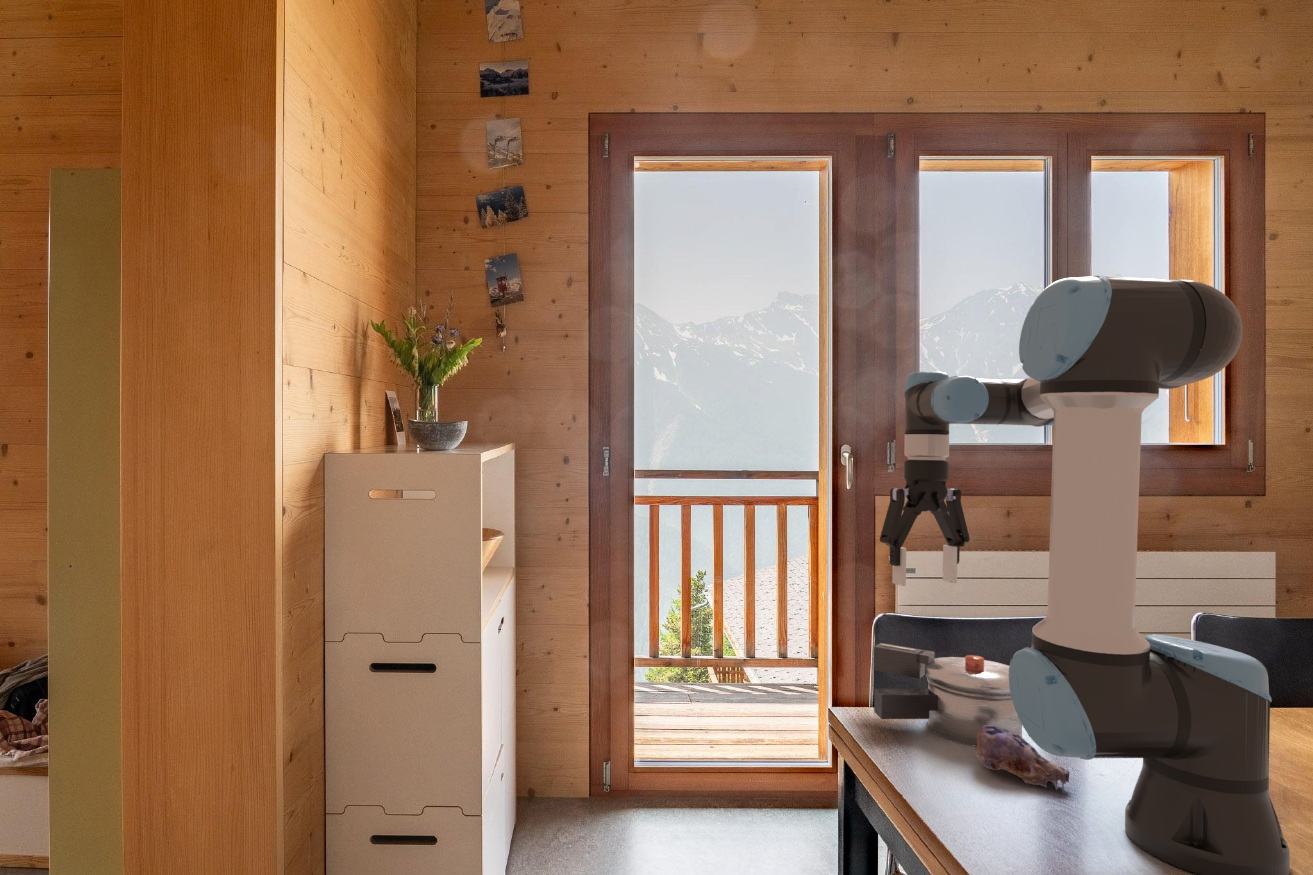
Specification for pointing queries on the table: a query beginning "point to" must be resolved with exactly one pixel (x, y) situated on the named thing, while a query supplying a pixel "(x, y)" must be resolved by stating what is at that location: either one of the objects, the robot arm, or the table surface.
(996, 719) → the pot
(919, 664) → the lid
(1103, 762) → the table surface
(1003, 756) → the skull
